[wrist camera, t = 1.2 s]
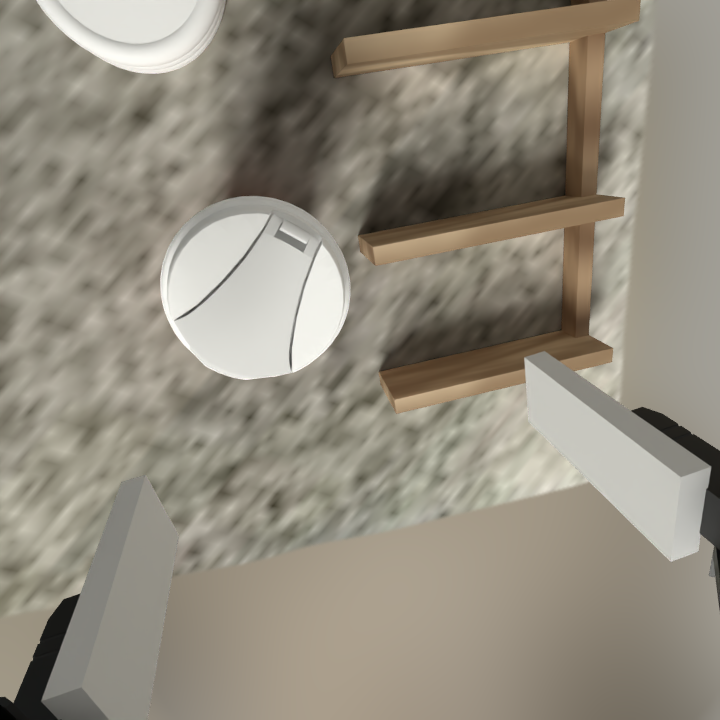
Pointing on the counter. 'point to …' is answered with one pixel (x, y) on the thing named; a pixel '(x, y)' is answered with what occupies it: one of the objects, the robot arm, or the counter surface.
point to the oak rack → (570, 212)
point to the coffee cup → (255, 287)
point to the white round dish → (139, 30)
